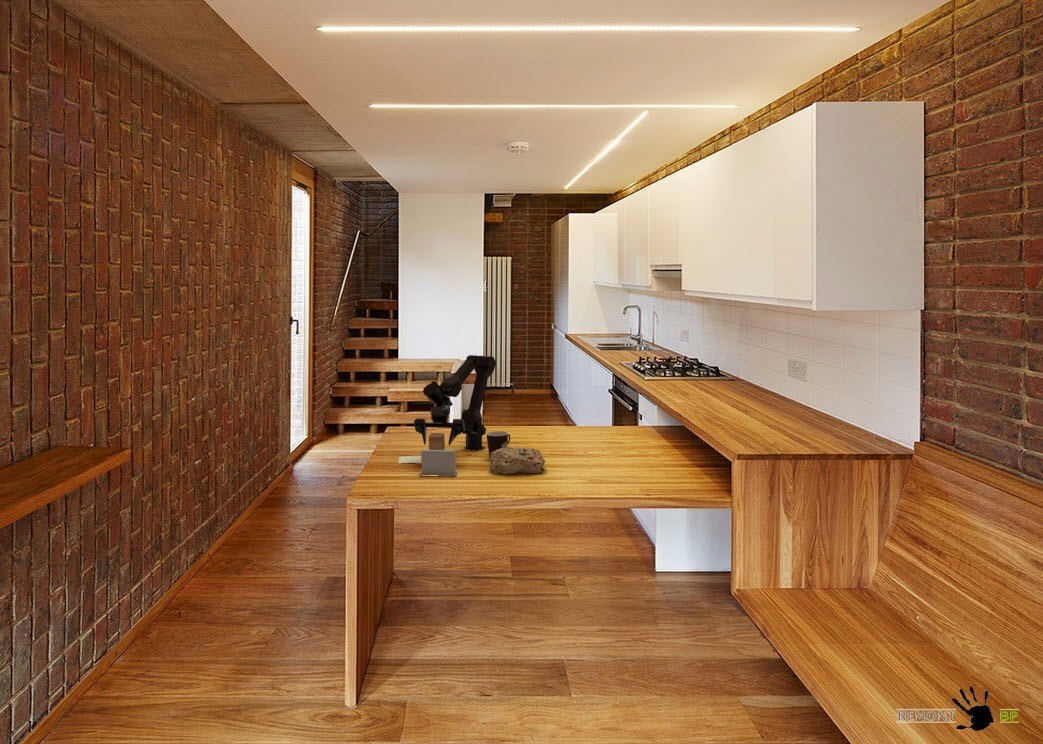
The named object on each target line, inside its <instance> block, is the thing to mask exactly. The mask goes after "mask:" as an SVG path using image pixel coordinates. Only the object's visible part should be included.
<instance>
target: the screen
mask: <svg viewBox="0 0 1043 744" xmlns="http://www.w3.org/2000/svg"><path fill="white" fill-rule="evenodd" d="M420 456H421V463H420V464H421V472H420V473H419V476H420V475H438V476H456V477H457V475H458V474H457V473H458V471H457V469H456V449H445V450H429V449H421V451H420ZM456 474H457V475H456Z"/></svg>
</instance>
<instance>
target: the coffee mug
mask: <svg viewBox="0 0 1043 744" xmlns="http://www.w3.org/2000/svg"><path fill="white" fill-rule="evenodd" d="M485 435H486V442H487V448H488V449H487V451H488V457H489V459H490V454H491V452H494V451H496V450H497V449H501V448H506V447H508V445H509V443H510V441H511V434H509V432H507V431H503V430H502V431H501V430H495V431H488V432H486V434H485Z"/></svg>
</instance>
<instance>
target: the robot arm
mask: <svg viewBox="0 0 1043 744" xmlns="http://www.w3.org/2000/svg"><path fill="white" fill-rule="evenodd" d="M496 364H497V361H496V359H495V357H494V356H492V355H473V354H469V355H467V356H466V359H465V360H464V361H463V362H462V364H461V365H460V366H459V367H458V369H457V370H456V371H455V372H454V373H453V375H451V376H450V377H447V378H445V379H444V380H443V381H442V382H441V383H440V384H439V383H438V382H437V381H435V380H434V381H433V380H431V382H430V383H428V384H427V385H425V387H424V388H423V390H422V393H423V395H424V396H425V397H426V398H427V400H429V401H430V402H431V403H432V404H434V406H431V407H430V416H431V417H430V419H431V421H427V420H426V418H424V417H423V418H419V417H418V418H415V419H414V421H413V427H414V429H415V432H416V433H418V434H420V435H421V436H422V440H423V441H422V442H423V444H424V446H425V445H426V443H427V434H428V432H427V429H428V428H431V429H432V428H438V429H451V430H450V434H449V437H448V446H451V444H452V443H453V441H454V440H455V439H456V437H458V436H459V435H461V434H465V446H464V447H463V449H464V448H465V449H464V450H468V449H469V450H468V451H472V450H476V451H478V450H479V449H480V450H483V449H485V448H486V447H485V446H483V436H484V435H486V433H487V427H485V426H484V424H483V416H482V413H481V409H482V405H483V401H484V397H485V392H486V388H487V384H488V380H489V378H490V377H491V376H492V375H493V374H494V371H495V369H496V366H497V365H496ZM473 371H474V372H475V379H474V383H473V388H472V392H471V396H470V401H469V405H468V407H467V409H466V410H465V411H463V412H462V413H461V418H453V419H452V422H449V417H450V414H451V407H453V402H452V401H451V398H457V397H458V396H459V395H460V393H461V391H462V390H463V383H465V381H466V380H467V379H468V378H469V376H470V375H471V374H472V372H473ZM450 397H451V398H450Z"/></svg>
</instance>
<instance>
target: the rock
mask: <svg viewBox="0 0 1043 744" xmlns="http://www.w3.org/2000/svg"><path fill="white" fill-rule="evenodd" d="M488 461H489V471H491V472H492V473H494V474H500V473H503V474H502V475H508V474H510V475H512V474H513V475H522V474H527V473H528V474H529V473H531V474H540V473H541V471H542V470H543V469H544V465H545V463H546V460H545V458H544V456H543V455H542V453H541V451H540V450H539V449H535V448H529V447H528V448H527V447H519V446H514V447H511V446H507V447H506V448H501V449H497V450H496V451H494V452H491V454H490V459H489V460H488Z"/></svg>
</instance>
